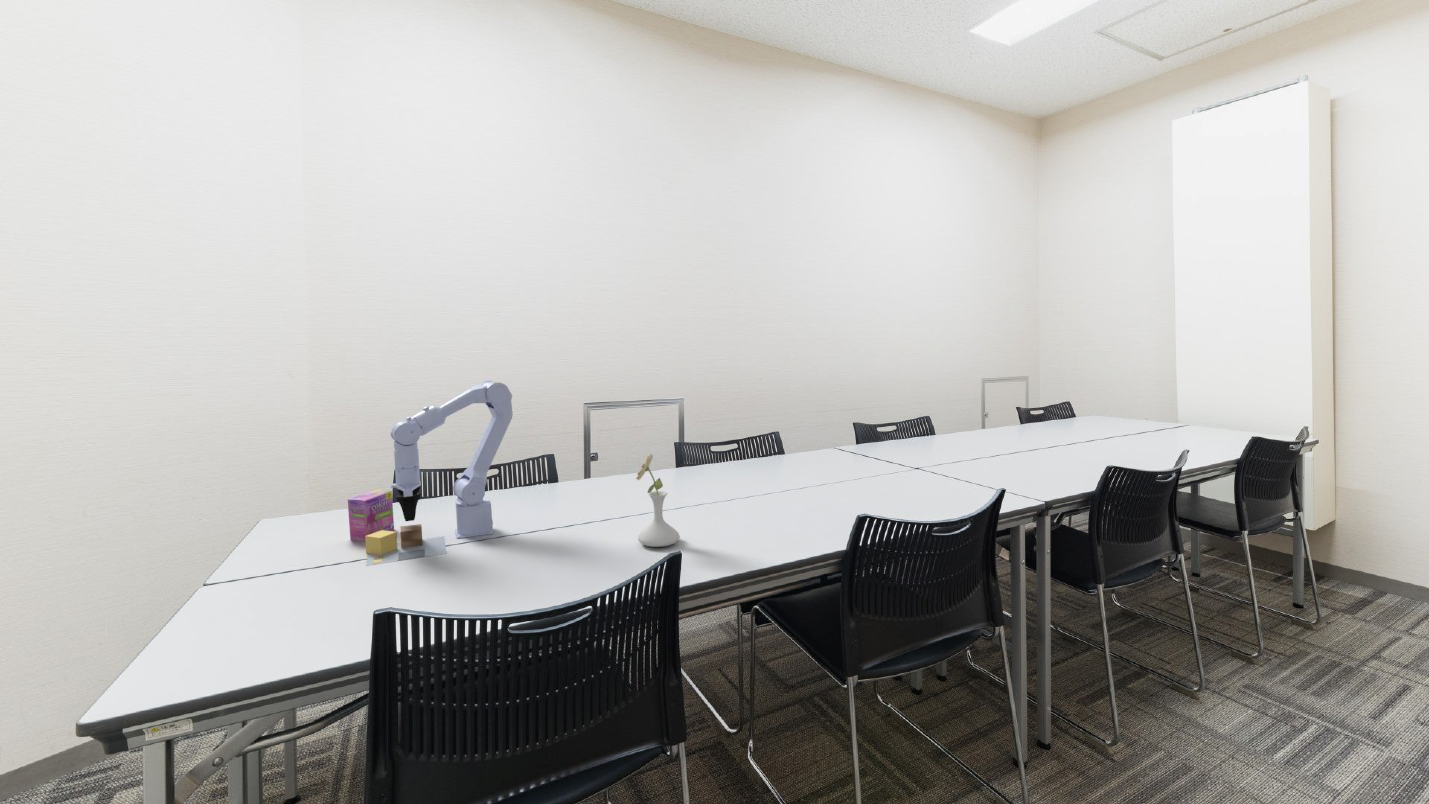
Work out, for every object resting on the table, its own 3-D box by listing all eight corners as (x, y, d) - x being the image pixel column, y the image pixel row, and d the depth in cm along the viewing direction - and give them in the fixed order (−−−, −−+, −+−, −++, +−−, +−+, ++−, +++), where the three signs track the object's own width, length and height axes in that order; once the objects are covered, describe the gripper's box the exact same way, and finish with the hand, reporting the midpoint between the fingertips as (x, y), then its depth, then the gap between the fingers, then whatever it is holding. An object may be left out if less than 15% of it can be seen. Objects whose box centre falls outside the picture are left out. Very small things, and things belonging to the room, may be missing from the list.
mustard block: (382, 546, 158) (381, 530, 157) (397, 548, 156) (396, 531, 156) (366, 552, 153) (365, 536, 152) (381, 555, 151) (380, 538, 151)
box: (367, 542, 162) (364, 500, 161) (349, 540, 163) (346, 499, 162) (395, 530, 172) (392, 490, 171) (378, 528, 173) (375, 489, 172)
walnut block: (422, 539, 163) (421, 523, 162) (422, 545, 158) (421, 529, 158) (401, 542, 161) (400, 526, 160) (401, 548, 156) (400, 531, 156)
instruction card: (444, 536, 166) (444, 535, 166) (446, 554, 152) (446, 553, 152) (370, 547, 158) (370, 546, 158) (365, 566, 144) (365, 565, 144)
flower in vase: (653, 533, 167) (652, 446, 165) (687, 540, 162) (686, 450, 159) (624, 548, 156) (622, 455, 153) (660, 555, 150) (658, 459, 148)
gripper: (391, 463, 162) (394, 511, 163) (388, 474, 149) (392, 526, 150) (419, 460, 165) (422, 508, 166) (420, 471, 152) (422, 522, 153)
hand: (410, 516), depth 159 cm, fingers open, 7 cm apart
